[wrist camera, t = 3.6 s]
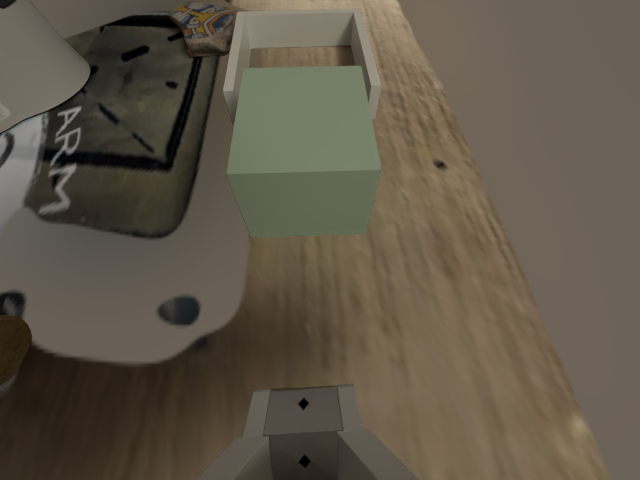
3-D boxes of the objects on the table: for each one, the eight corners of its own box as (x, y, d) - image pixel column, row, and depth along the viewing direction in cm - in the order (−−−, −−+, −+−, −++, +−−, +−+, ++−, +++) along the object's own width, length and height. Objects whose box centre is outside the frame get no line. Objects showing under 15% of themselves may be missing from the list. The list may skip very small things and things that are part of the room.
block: (251, 238, 26) (226, 174, 19) (260, 143, 32) (243, 68, 25) (365, 234, 26) (381, 169, 19) (352, 140, 32) (361, 65, 25)
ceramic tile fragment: (151, 7, 41) (215, -12, 44) (162, 33, 44) (222, 13, 47) (190, 44, 37) (259, 20, 40) (199, 71, 39) (263, 46, 43)
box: (232, 124, 33) (222, 91, 30) (244, 45, 42) (237, 11, 38) (374, 119, 34) (381, 85, 30) (356, 41, 42) (360, 8, 39)
